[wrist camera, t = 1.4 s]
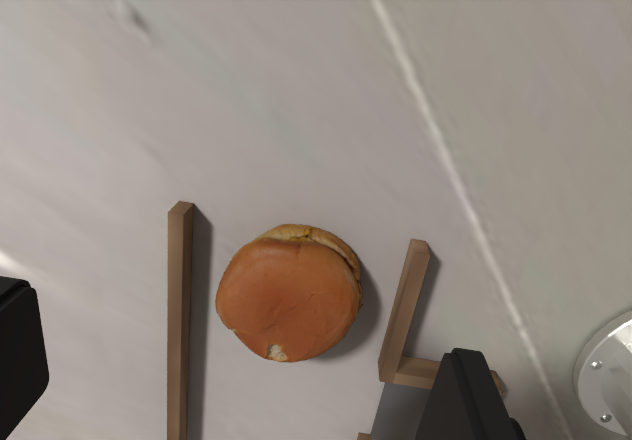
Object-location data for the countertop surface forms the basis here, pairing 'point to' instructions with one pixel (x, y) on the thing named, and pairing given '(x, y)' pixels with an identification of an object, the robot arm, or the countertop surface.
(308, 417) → the countertop surface
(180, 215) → the box
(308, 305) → the burger
